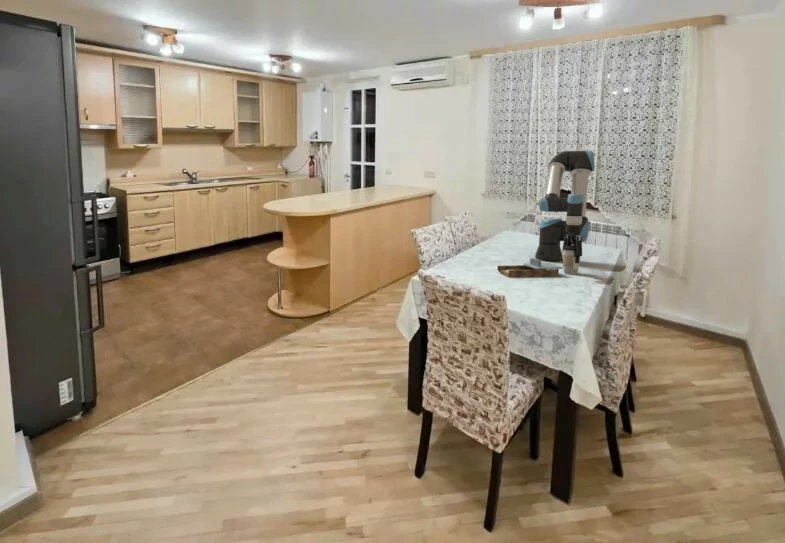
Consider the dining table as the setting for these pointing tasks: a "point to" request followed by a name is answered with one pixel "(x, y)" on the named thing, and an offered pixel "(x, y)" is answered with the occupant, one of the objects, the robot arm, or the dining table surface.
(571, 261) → the coffee cup
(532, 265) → the lid
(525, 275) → the wooden tray
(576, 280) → the dining table surface
